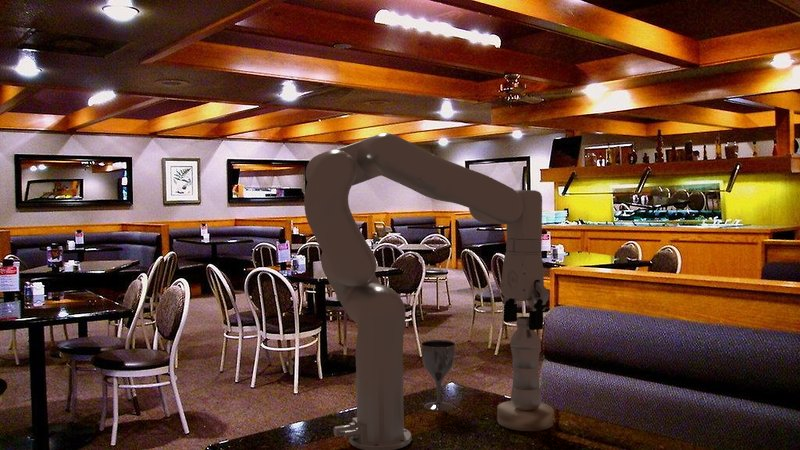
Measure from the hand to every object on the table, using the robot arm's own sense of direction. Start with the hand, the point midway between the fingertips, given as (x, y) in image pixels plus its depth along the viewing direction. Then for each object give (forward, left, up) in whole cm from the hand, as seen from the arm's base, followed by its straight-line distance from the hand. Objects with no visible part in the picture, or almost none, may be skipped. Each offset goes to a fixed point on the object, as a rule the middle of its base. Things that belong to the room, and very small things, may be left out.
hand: (522, 325), depth 146 cm
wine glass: (-12, +18, -22) cm, 30 cm away
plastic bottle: (0, -1, -18) cm, 18 cm away
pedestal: (0, 0, -21) cm, 21 cm away
